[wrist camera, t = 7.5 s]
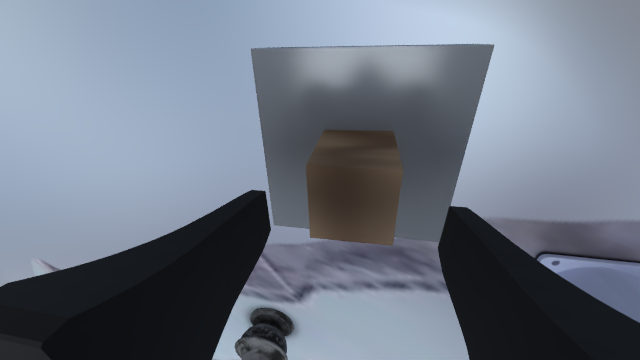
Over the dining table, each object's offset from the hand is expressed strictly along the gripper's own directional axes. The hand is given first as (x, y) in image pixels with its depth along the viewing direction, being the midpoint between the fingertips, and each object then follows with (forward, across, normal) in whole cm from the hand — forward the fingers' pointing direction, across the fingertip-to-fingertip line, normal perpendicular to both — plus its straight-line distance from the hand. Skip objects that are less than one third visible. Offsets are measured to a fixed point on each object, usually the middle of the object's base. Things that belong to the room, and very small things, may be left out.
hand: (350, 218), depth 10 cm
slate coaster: (+9, 0, 0) cm, 9 cm away
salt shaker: (+9, +9, +23) cm, 26 cm away
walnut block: (+6, 0, 0) cm, 6 cm away
